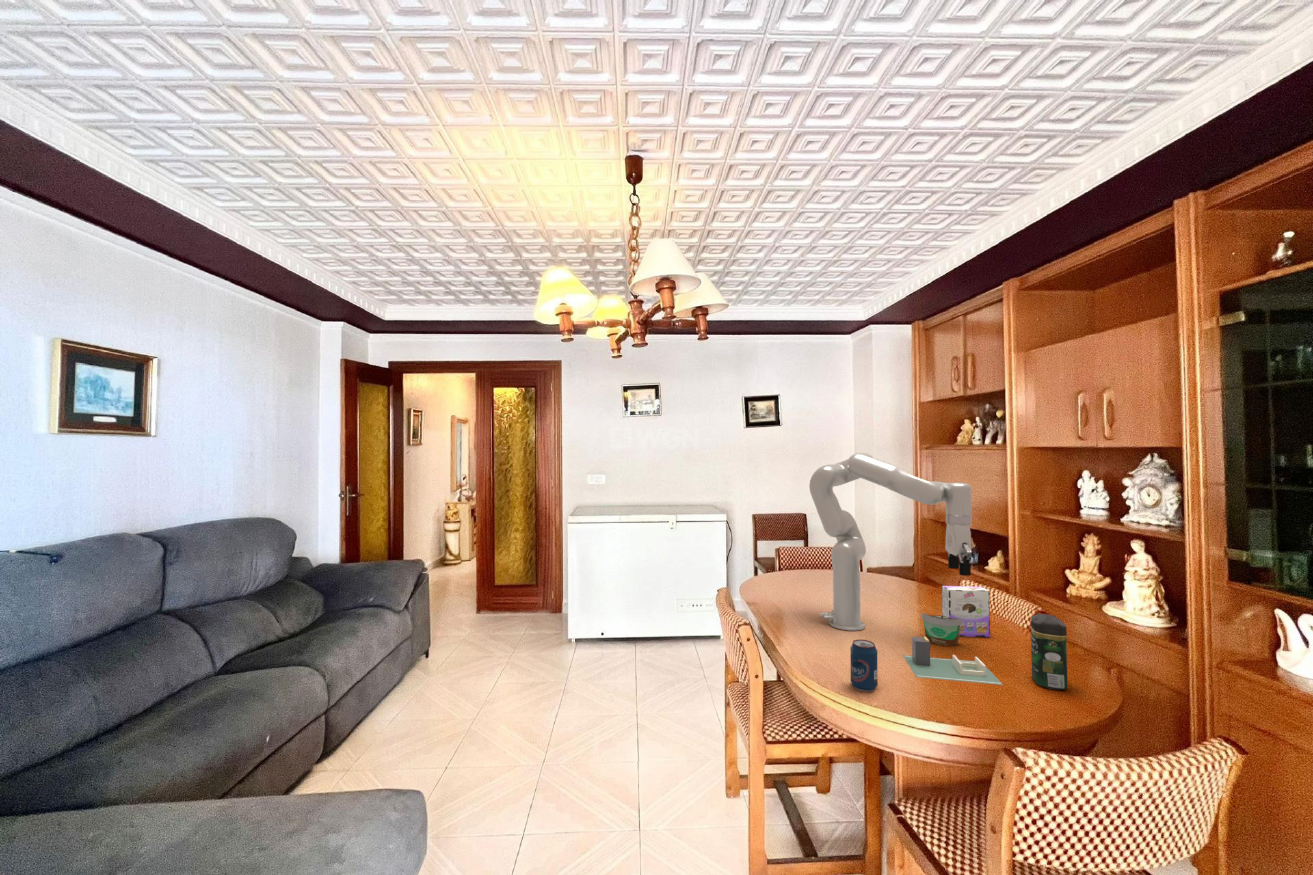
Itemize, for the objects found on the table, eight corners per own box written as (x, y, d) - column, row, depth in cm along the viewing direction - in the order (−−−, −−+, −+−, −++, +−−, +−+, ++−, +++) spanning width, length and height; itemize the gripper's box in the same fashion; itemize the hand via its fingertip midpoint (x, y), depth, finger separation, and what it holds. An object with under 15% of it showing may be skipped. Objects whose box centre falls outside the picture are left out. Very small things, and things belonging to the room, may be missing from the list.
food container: (920, 646, 175) (920, 616, 175) (921, 640, 180) (920, 611, 181) (963, 653, 169) (963, 622, 169) (962, 646, 175) (962, 616, 175)
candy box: (982, 631, 189) (981, 585, 189) (990, 637, 183) (990, 590, 184) (941, 630, 190) (941, 584, 191) (949, 636, 185) (948, 589, 185)
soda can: (846, 686, 145) (845, 642, 146) (857, 678, 150) (857, 636, 151) (871, 695, 141) (870, 649, 141) (881, 686, 145) (881, 643, 146)
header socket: (960, 674, 151) (960, 663, 151) (952, 665, 157) (952, 654, 157) (985, 676, 149) (985, 665, 149) (977, 667, 156) (977, 656, 156)
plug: (915, 664, 157) (915, 639, 157) (912, 659, 161) (912, 635, 161) (930, 666, 156) (930, 640, 157) (926, 660, 160) (926, 636, 160)
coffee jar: (1028, 673, 154) (1028, 610, 154) (1062, 679, 150) (1061, 613, 151) (1034, 687, 145) (1034, 619, 146) (1070, 693, 142) (1069, 624, 142)
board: (916, 681, 149) (916, 676, 149) (902, 659, 165) (902, 654, 165) (1003, 689, 144) (1003, 684, 144) (981, 665, 160) (981, 661, 160)
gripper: (937, 516, 185) (938, 565, 184) (956, 523, 168) (956, 577, 167) (960, 517, 183) (961, 566, 183) (982, 524, 166) (982, 578, 166)
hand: (959, 571), depth 175 cm, fingers open, 9 cm apart
